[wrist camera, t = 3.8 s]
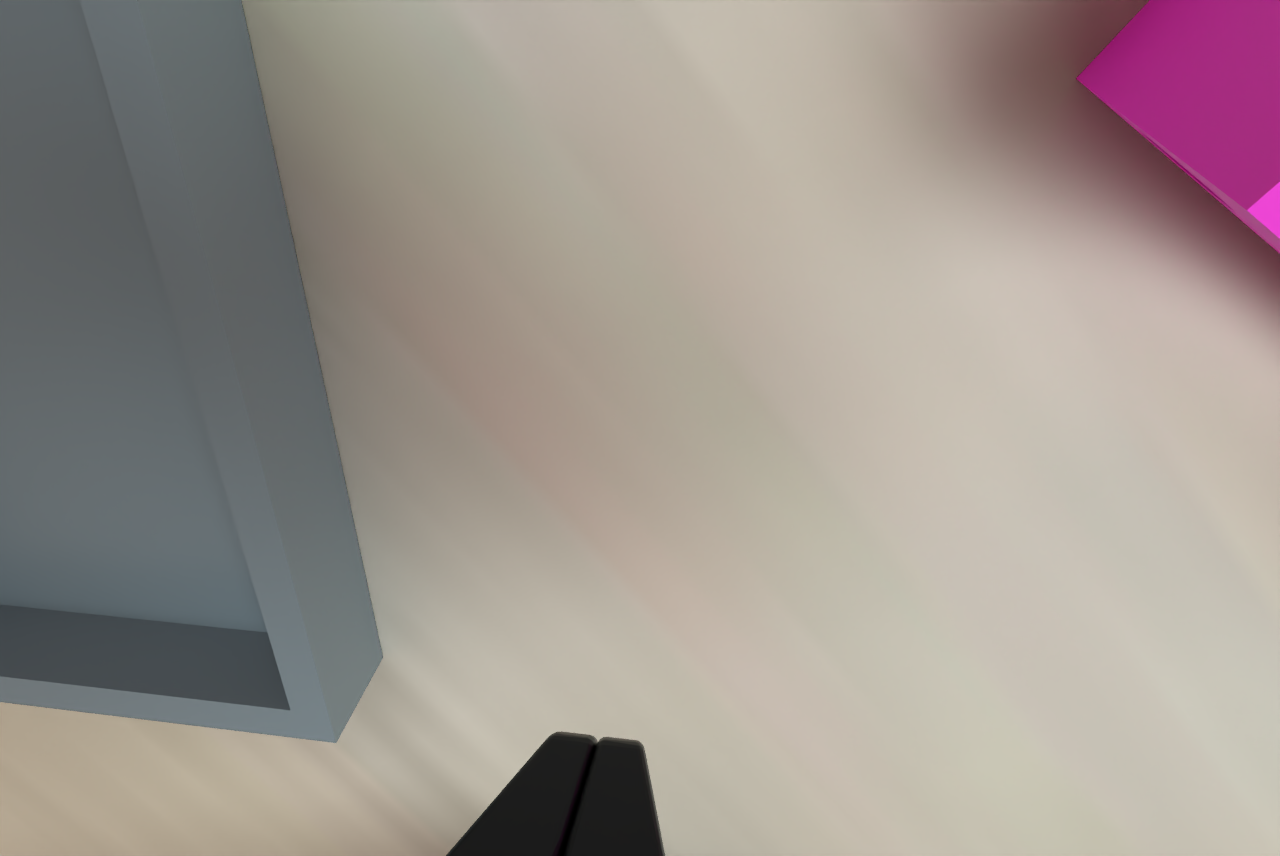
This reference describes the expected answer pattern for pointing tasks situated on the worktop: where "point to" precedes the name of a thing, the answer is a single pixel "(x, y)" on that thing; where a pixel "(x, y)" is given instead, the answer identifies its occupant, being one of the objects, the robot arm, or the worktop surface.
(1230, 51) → the toy block
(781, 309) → the worktop surface
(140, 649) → the tray
